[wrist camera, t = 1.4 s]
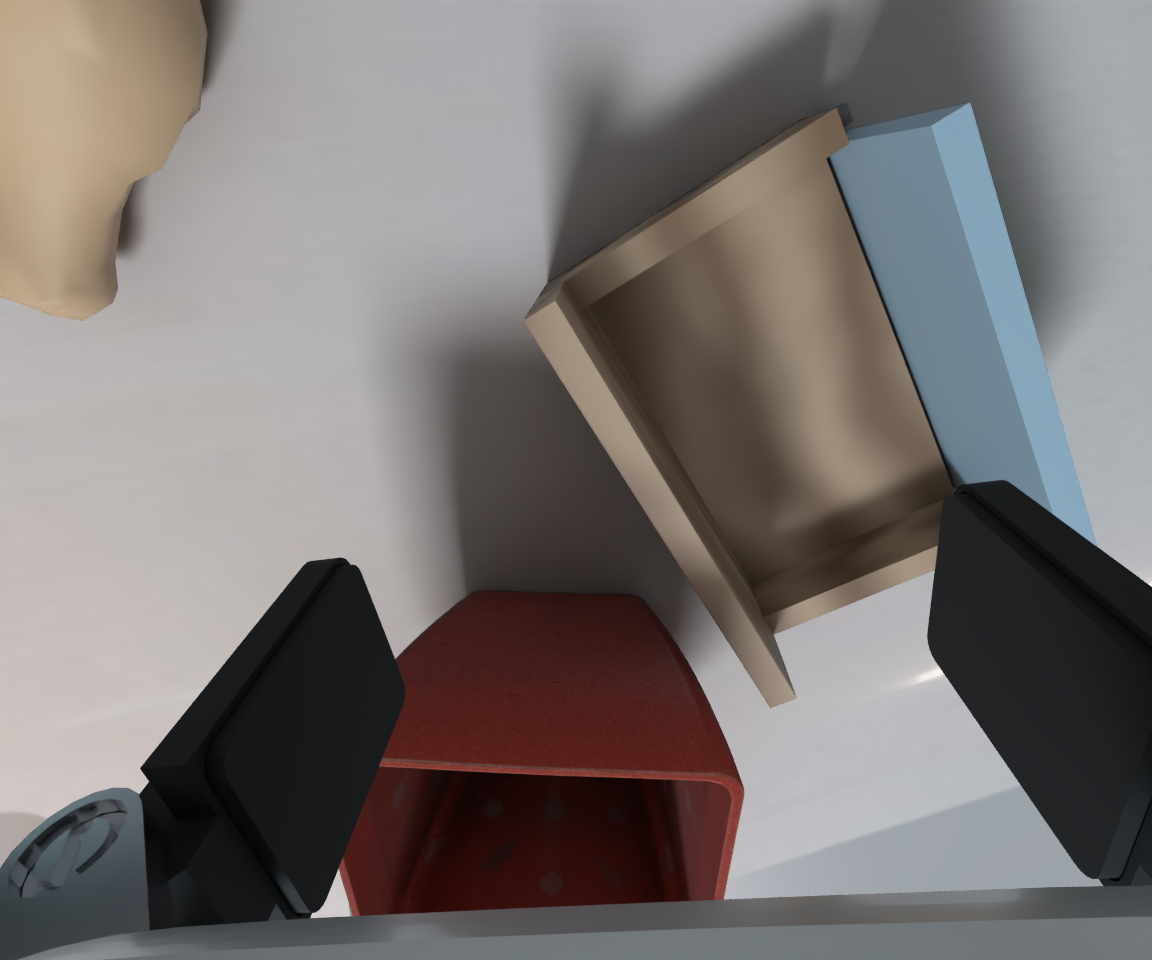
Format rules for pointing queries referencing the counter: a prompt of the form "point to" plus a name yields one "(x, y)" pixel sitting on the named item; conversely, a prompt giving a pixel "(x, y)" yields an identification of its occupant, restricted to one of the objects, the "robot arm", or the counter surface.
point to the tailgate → (958, 303)
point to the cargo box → (755, 395)
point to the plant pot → (546, 766)
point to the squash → (85, 135)
